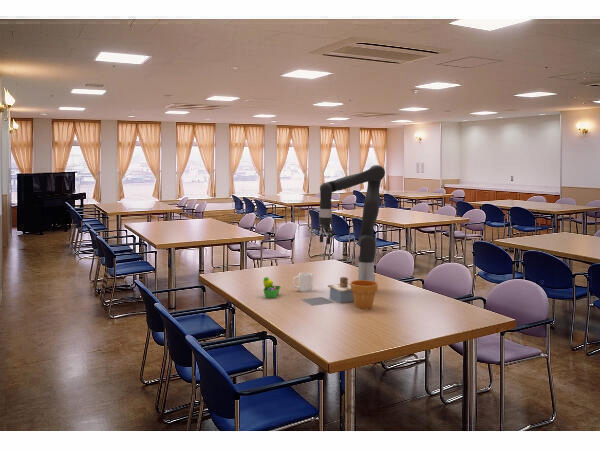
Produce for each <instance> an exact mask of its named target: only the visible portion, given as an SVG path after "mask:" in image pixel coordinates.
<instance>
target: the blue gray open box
mask: <svg viewBox="0 0 600 450" xmlns="http://www.w3.org/2000/svg"><path fill="white" fill-rule="evenodd" d="M330 299H331V300H333V301H334V302H335V301H336V302H338V303H340V304H341V303H350V302H351V303H352V302H354V298H353V292H352V290H350V291H342V292H340V291H337V290H335V289H332V288H330V287H329V300H330Z"/></svg>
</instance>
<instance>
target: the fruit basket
mask: <svg viewBox="0 0 600 450" xmlns="http://www.w3.org/2000/svg"><path fill="white" fill-rule="evenodd" d="M273 284H274V281H273V280H271V279H270V278H269V277H268V276H266V277H264V278H263V286H264V288H263V290H262V291H263V294H264V297H265V298H264V299H269V298H271V299H275V298H276V297H277V296H278V295H279V292H280V289H281V286H280V285H273Z"/></svg>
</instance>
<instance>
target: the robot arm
mask: <svg viewBox="0 0 600 450" xmlns="http://www.w3.org/2000/svg"><path fill="white" fill-rule="evenodd" d="M385 175H386V170H385V168H384V167H383V166H382V165H378V164H375V165H374V164H373V165H371V166H370V168H368V169H367V170H364V171H362V172H359V173H354V174H350V175H347V176H343V177H340V178H337V179H335V180H330V181H327V182H326V181H325V182H323V183H321V185H320V187H319V192H320V195H319V197H320V200H319V213H318V225H317V235H318V236H319V243H324V235H325V236H326V245H331V243H332V242H331V240H332V239H331V238H333V237H334V227H333V226H331V225H332V222H333V221H332V219H333V218H332V214H333V212H332V211H333V210H332V197H333V195H332V194H333V193H334V192H335V193H336V192H338V191H343V190H347V189H350V188H352V187H355V186H357V185H358V186H359V185H360V184H364V183H367V189H366V192H365V198H364V203H363V208H362V217H361V219H362V220H361V228H360V232H359V235H358V236H359V237H358V241H357V244H358V246H359V256H358V264H357V265H358V266H357V267H358V270H357V272H358V275H357V276H358V277H357V280H369V281H374V282H376V278H375V277H376V275H375V273H374V272H375V271H374V270H375V269H374V268H375V266H374V265H375V258H376V240H375V239H374V237H373V233H374V232H373V231H374V226H375V224H376V221H377V219H378V216H379V211H380V203H381V202H380V200H381V197H380V188H381V183H382V180H383V179H384V177H385Z"/></svg>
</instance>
